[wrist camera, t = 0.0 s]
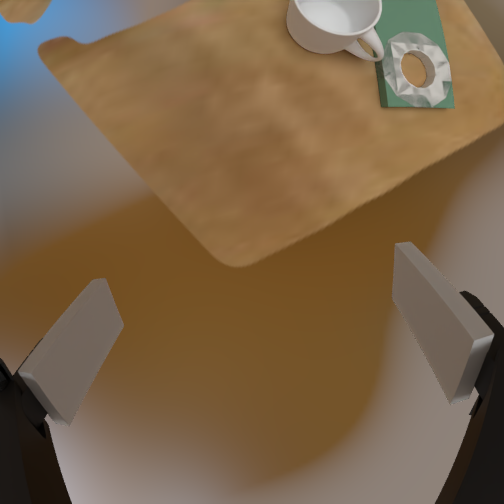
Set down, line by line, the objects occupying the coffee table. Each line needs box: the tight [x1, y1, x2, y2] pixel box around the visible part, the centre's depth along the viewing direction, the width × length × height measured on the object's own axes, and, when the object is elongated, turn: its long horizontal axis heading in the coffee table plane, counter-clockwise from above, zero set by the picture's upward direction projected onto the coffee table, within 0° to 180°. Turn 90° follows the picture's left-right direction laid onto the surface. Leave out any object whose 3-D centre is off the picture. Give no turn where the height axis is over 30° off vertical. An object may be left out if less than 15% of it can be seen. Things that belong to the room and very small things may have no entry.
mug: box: [286, 0, 384, 62], centre depth 26 cm, size 9×12×11 cm
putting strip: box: [373, 0, 455, 109], centre depth 29 cm, size 22×10×2 cm, turn 9°
